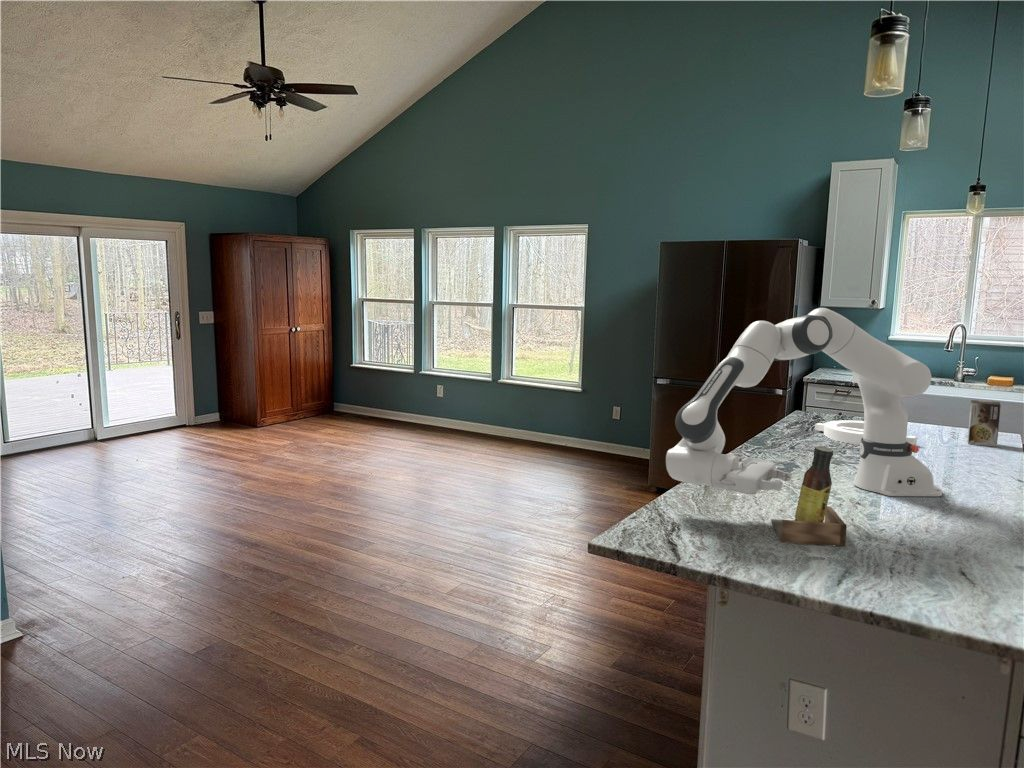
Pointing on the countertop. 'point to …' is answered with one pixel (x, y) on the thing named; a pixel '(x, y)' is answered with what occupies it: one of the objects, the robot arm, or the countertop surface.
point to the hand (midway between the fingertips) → (786, 481)
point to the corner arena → (813, 530)
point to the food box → (984, 423)
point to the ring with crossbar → (848, 431)
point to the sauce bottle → (815, 487)
